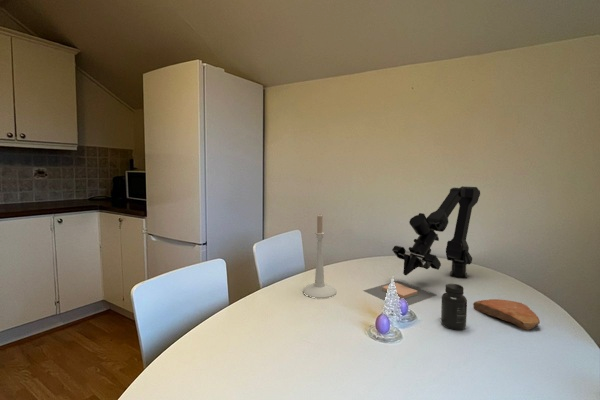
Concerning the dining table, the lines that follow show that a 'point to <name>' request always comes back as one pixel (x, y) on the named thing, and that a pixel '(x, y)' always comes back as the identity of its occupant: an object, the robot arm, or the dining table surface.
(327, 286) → the candlestick
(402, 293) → the tile
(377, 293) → the mat
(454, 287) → the supplement bottle
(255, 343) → the dining table surface
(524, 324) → the ceramic shard
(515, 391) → the dining table surface
